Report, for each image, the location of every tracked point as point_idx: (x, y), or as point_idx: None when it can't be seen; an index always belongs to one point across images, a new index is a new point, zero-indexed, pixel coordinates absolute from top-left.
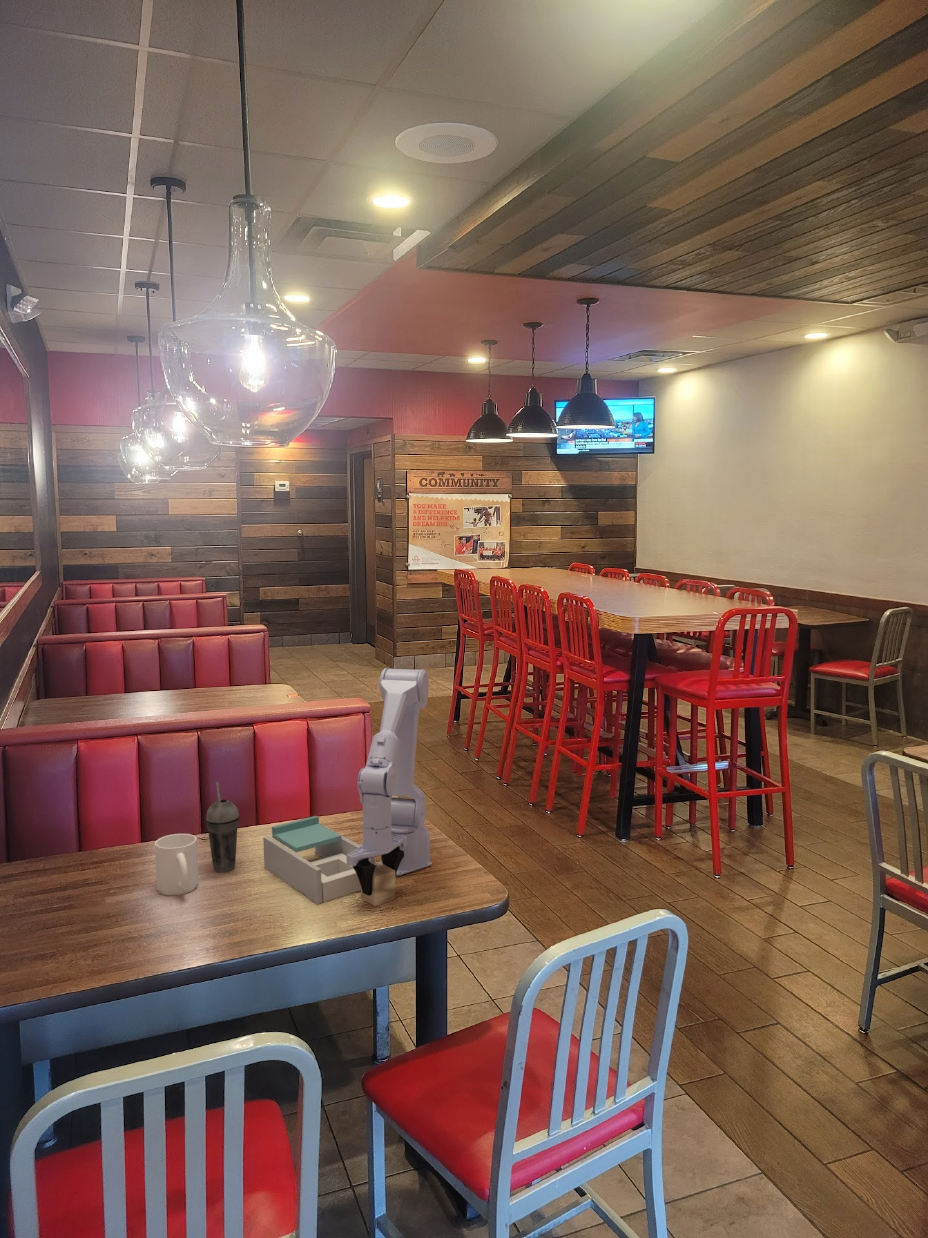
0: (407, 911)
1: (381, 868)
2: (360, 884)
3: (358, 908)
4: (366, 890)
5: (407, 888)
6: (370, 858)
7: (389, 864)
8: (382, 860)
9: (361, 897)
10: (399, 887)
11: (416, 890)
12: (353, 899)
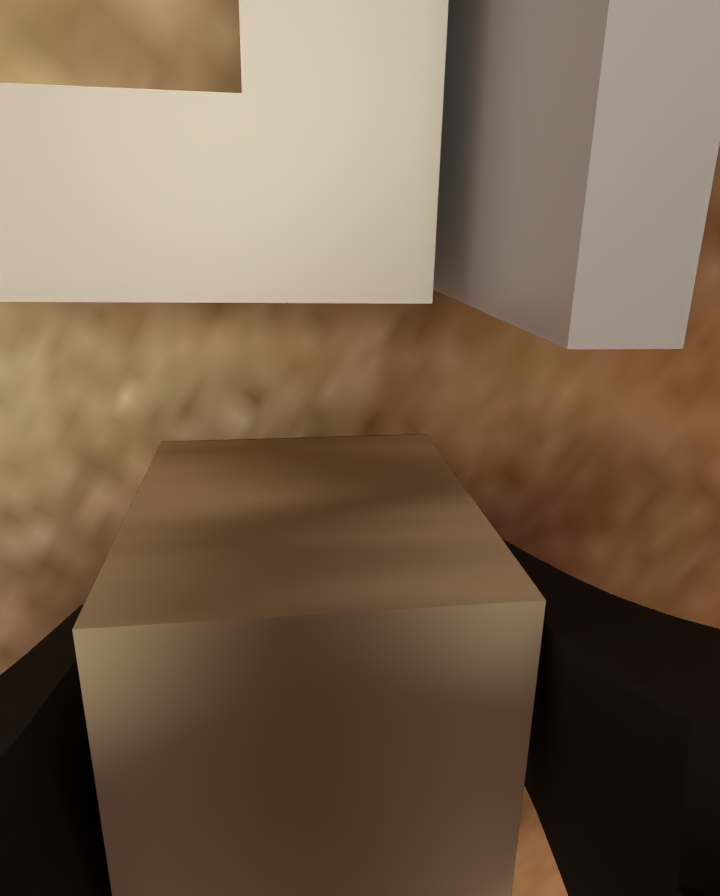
0: None
1: (405, 779)
2: (43, 643)
3: (19, 623)
4: None
5: (642, 534)
6: (528, 320)
7: (568, 804)
8: (575, 669)
9: (161, 447)
10: (607, 472)
11: (664, 611)
12: (68, 423)
